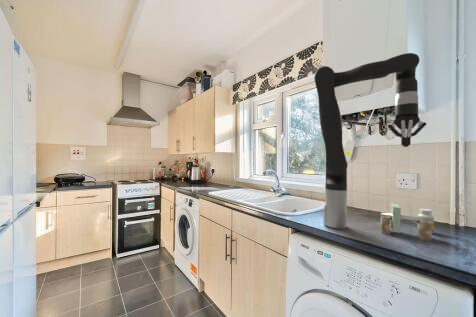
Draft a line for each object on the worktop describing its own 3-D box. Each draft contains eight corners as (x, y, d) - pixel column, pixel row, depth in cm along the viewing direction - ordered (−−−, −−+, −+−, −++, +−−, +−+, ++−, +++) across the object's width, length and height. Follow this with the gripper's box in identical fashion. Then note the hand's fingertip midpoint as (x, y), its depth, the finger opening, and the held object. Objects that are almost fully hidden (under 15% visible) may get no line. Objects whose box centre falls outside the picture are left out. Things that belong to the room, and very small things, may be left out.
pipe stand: (381, 233, 91) (381, 216, 91) (380, 229, 96) (380, 214, 96) (430, 241, 83) (431, 223, 83) (427, 236, 88) (427, 219, 88)
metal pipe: (381, 219, 92) (381, 213, 92) (380, 217, 95) (381, 211, 95) (429, 225, 84) (430, 218, 84) (428, 223, 86) (428, 217, 86)
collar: (393, 231, 87) (393, 207, 87) (390, 225, 96) (390, 203, 96) (400, 232, 86) (400, 207, 86) (397, 226, 94) (397, 203, 95)
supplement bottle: (417, 229, 98) (417, 207, 98) (433, 231, 94) (433, 209, 95) (417, 231, 94) (417, 209, 94) (434, 234, 90) (434, 211, 90)
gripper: (387, 104, 88) (387, 146, 87) (429, 100, 81) (429, 145, 81) (386, 108, 94) (385, 147, 94) (425, 104, 87) (424, 147, 87)
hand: (405, 146), depth 87 cm, fingers closed
